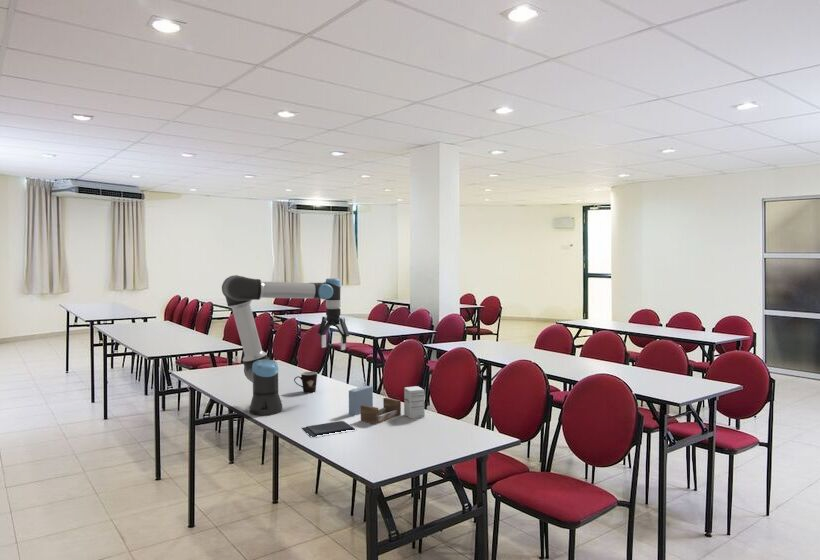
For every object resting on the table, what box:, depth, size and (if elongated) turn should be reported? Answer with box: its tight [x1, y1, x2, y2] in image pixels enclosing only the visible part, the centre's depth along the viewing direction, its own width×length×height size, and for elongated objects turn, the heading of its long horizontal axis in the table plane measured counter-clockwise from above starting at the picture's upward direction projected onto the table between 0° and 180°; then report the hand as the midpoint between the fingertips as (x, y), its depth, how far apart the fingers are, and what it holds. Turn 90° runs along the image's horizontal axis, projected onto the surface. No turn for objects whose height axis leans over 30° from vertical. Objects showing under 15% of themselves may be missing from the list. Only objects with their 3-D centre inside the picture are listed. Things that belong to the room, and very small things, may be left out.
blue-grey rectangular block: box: [348, 385, 374, 416], centre depth 260 cm, size 12×4×11 cm, turn 142°
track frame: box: [360, 397, 402, 425], centre depth 250 cm, size 17×9×7 cm, turn 142°
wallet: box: [301, 420, 356, 437], centre depth 234 cm, size 20×2×15 cm
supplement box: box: [403, 385, 425, 420], centre depth 253 cm, size 7×7×13 cm
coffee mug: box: [293, 371, 318, 394], centre depth 299 cm, size 12×9×10 cm
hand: (333, 348), depth 292 cm, fingers open, 13 cm apart
